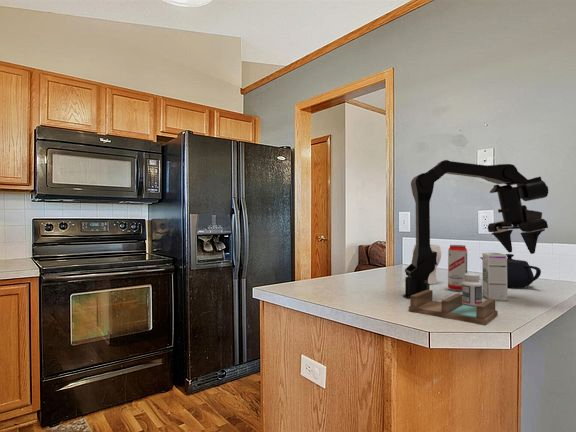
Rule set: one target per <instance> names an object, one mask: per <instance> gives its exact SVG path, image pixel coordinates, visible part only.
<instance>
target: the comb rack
mask: <svg viewBox="0 0 576 432" xmlns="http://www.w3.org/2000/svg"><path fill="white" fill-rule="evenodd" d="M433 296H434V295H433V289H430V290H425V291H422V292H420V293H417V294H414V295H411V298H410V304H409V306H408V312H412V311H413V313H419V314H424V315H430V316H435V317H439V318H445V319H450V320H456V321H462V322H467V323H474V324H477V325H478V324H479V325H482V326H483V325H484V326H487V325H489V323H490V322H492V321H493V320H494V319H495V318H496V317H497V316H498V310H497V309H496V300H495V299H491V298H488V299H487V298H486V299H485V300H484V301H483V300H482V303H480V304H479V305H477V306H469V305H465V304H463V303H462V294H461V293H455V294H453V295H450V296H448V297H447V298H444V299H442V300H441V301H437V300H433Z"/></svg>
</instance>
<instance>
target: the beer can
mask: <svg viewBox="0 0 576 432" xmlns="http://www.w3.org/2000/svg"><path fill="white" fill-rule="evenodd" d="M447 256H448V257H447V288H448V289H449V290H450V291H453V292H462V283H463V282H464V281H465V280H466V279H465V278H464V275H465V274H468V249H467V248H466V245H463V244H449V248H448V251H447Z"/></svg>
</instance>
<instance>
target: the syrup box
mask: <svg viewBox="0 0 576 432" xmlns="http://www.w3.org/2000/svg"><path fill="white" fill-rule="evenodd" d="M505 254H506V253H505ZM505 254H504V253H500V252H482V258H483V259H481V260H482V297H484V298H486V300H487V299H488V298H491V299H495V301H506V302H507V301H508V287H507V258H508V257H507V255H505Z"/></svg>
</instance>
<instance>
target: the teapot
mask: <svg viewBox="0 0 576 432" xmlns="http://www.w3.org/2000/svg"><path fill="white" fill-rule="evenodd" d="M505 255H507V288H512V289H513V288H515V289H516V288H521V289H522V288H528V286H530V285H532V284H533V283H534V282H535V281H536V280H537V279H539V277H541V273H542V270H541V268H539V267H538V266H534V265H530V264H529V262H528V260H527V261H526V260H520V259H514V258H513V257H514V254H513V253H505ZM479 259H481V260H482V259H483V256H482V257H479ZM532 269H533V270H535V274H534V272H533V270H532Z"/></svg>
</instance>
